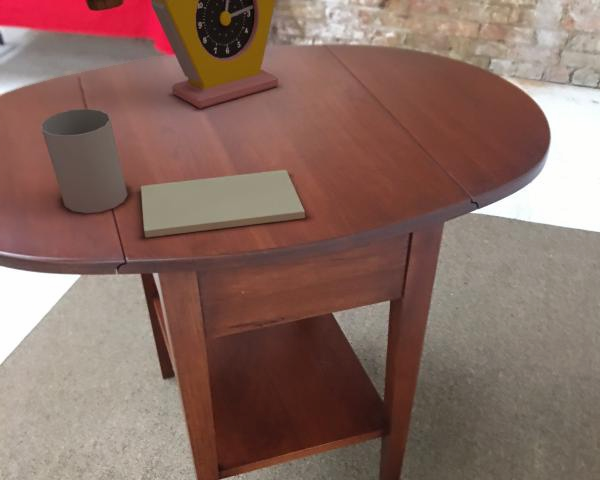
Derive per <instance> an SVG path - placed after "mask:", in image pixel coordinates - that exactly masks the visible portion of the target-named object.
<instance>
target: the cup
mask: <svg viewBox="0 0 600 480" xmlns="http://www.w3.org/2000/svg"><path fill="white" fill-rule="evenodd" d="M40 128H41V132H42V135H43V139H44V142H45V145H46V147H47V152H48V154H49V158H50V161H51V164H52V168H53V171H54V175H55V178H56V181H57V184H58V187H59V188H58V189H59V191H60V194H61V197H62V201H63V205H64V207H65V208H67V209H69V210H70V211H72V212H76V213H81V214H93V213H101V212H106V211H108V210H112V209H114V208H116V207H118V206H119V205H121V204H122V203H124V202H125V200H126V198H127V197H128V191H127V186H126V182H125V178H124V173H123V169H122V164H121V160H120V155H119V150H118V145H117V142H116V137H115V133H114V129H113V125H112V120H111V117H110V114H109V113H108V112H105V111H102V110H100V109H92V108H78V109H69V110H65V111H61V112H57V113H55V114H53V115H51V116H47V117H46V118H45V119H44V120H43V121H42V122H41V123H40Z"/></svg>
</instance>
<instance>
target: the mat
mask: <svg viewBox="0 0 600 480" xmlns="http://www.w3.org/2000/svg"><path fill="white" fill-rule="evenodd" d="M140 194H141V208H142V222H143V223H142V224H143V233H144V238H155V237H164V236H171V235H179V234H187V233H195V232H202V231H203V232H205V231H210V230H219V229H228V228H236V227H237V228H238V227H243V226H251V225H261V224H268V223H276V222H284V221H293V220H301V219H305V217H306V213H305V212H306V211H305V208H304V207H303V205H302V202H301V200H300V198H299V195H298V193H297V191H296V189H295V186H294V184H293V182H292V180H291V177H290V176H289V173H288V171H287V169H278V170H272V171H263V172H254V173H253V172H252V173H245V174H243V173H242V174H236V175H234V174H233V175H226V176H216V177H208V178H199V179H198V178H197V179H189V180H181V181H173V182H171V181H170V182H164V183H163V182H162V183H155V184H147V185H146V184H145V185H140Z"/></svg>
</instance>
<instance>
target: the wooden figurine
mask: <svg viewBox="0 0 600 480" xmlns="http://www.w3.org/2000/svg"><path fill="white" fill-rule="evenodd" d="M85 3H86V6H87V7H88V10H90V11H94V12H100V11H101V12H102V11H106V10H112V9H115V8H119V7H121V6H123V4H124V0H85Z"/></svg>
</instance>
